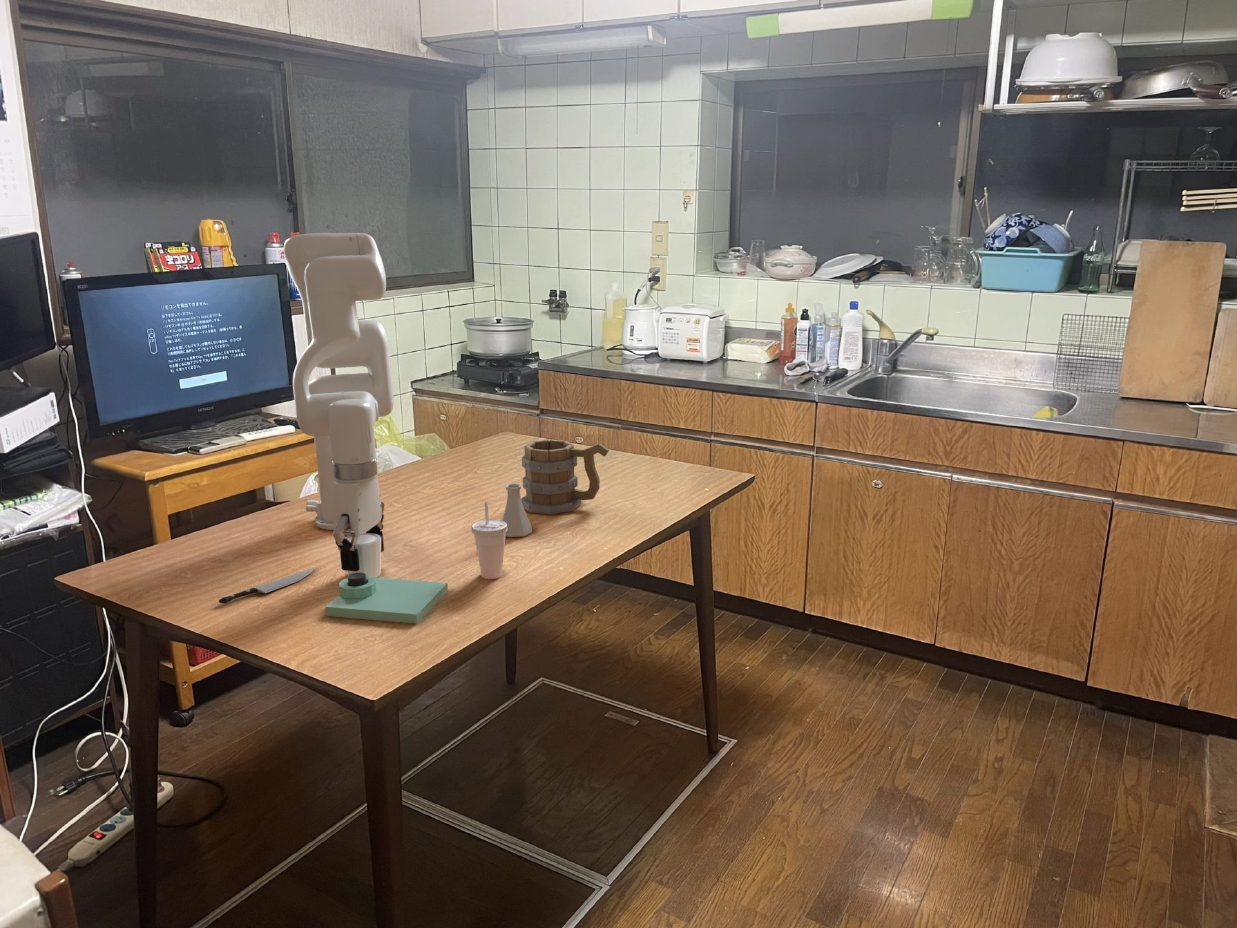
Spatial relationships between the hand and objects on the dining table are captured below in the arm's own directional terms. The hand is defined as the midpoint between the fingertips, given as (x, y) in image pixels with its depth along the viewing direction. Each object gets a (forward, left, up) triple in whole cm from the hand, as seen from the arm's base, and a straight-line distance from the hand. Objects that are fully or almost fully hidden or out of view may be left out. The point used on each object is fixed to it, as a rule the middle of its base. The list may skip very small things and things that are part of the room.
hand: (363, 560), depth 166 cm
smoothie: (+23, +4, -3) cm, 23 cm away
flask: (+20, +27, -3) cm, 34 cm away
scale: (+10, -11, -3) cm, 15 cm away
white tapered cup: (0, 0, -3) cm, 3 cm away
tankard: (+26, +45, -3) cm, 52 cm away
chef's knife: (-13, -9, -3) cm, 16 cm away
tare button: (+4, -11, 0) cm, 12 cm away
